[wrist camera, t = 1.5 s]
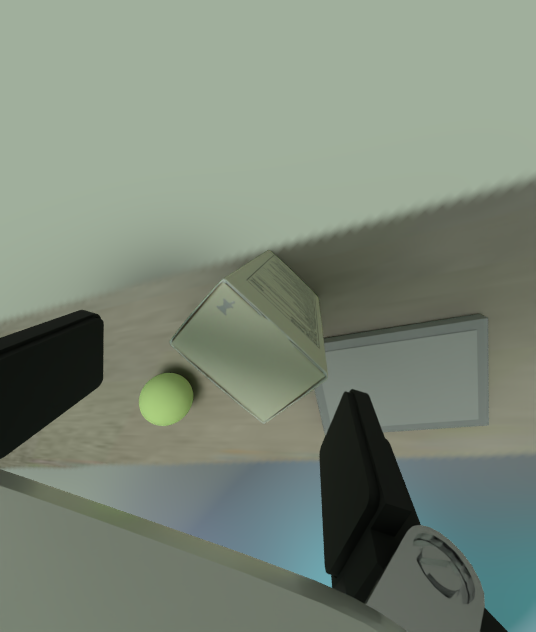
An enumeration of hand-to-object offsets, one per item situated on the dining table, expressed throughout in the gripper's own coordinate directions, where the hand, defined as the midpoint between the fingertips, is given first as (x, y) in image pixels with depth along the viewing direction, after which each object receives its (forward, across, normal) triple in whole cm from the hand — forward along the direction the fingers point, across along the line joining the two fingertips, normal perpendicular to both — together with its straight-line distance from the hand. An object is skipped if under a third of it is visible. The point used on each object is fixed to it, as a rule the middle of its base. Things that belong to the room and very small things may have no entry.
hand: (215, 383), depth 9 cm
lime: (+14, +7, +12) cm, 20 cm away
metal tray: (+14, -13, +4) cm, 19 cm away
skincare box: (+14, -1, 0) cm, 14 cm away
